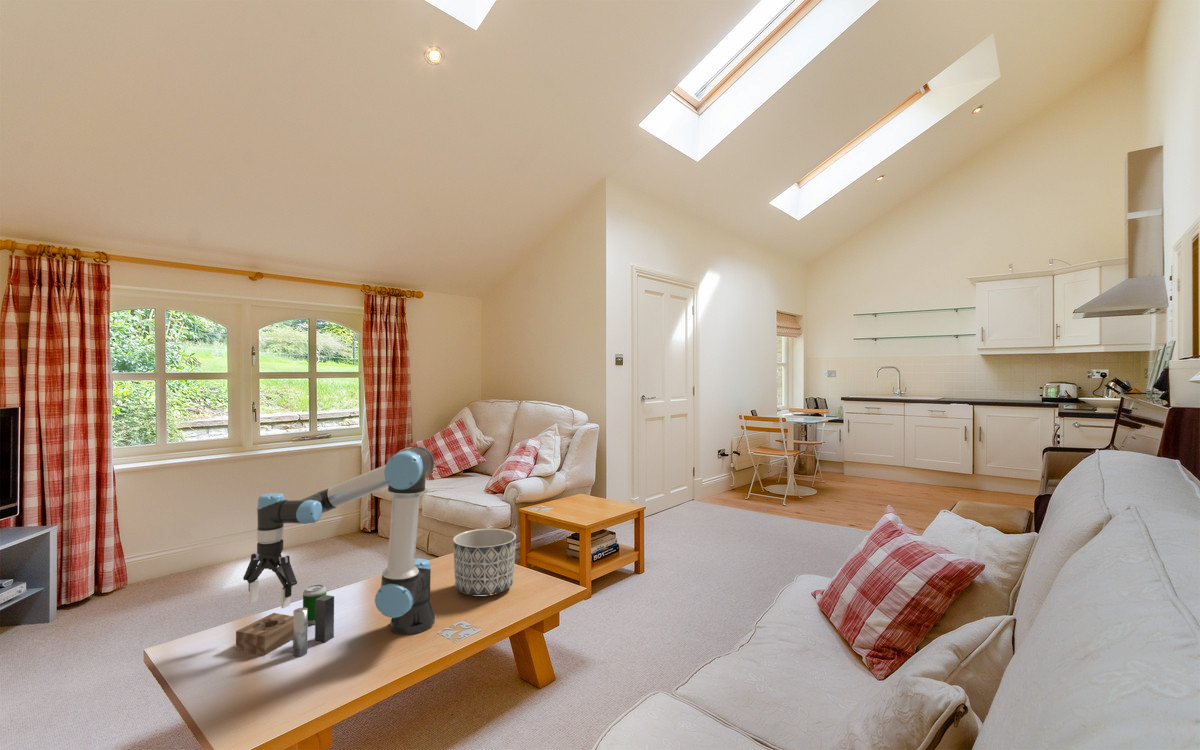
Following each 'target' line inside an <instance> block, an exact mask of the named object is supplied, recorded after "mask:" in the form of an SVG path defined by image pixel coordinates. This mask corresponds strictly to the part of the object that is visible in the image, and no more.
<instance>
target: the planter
mask: <svg viewBox="0 0 1200 750" xmlns="http://www.w3.org/2000/svg"><path fill="white" fill-rule="evenodd" d="M516 545H517V535H516V533H514V532H513V531H511V530H508V529H503V528H502V529H501V528H477V529H471V530H467V531H462V532H460V533H458V534H456V535H455V536H454V537H453V538H452V547H453V548H452V549H453V564H454V585H455V586H454V587H455V589H456V590H457V591H458V592H459V593H462V594H464V595H469V596H472V595H490V594H495V593H497V594H499V593H501V592H504V591H506V590H508V589H509V588H511V586H512V585H513V582H514V572H515V556H516ZM495 595H496V594H495Z"/></svg>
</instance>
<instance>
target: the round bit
mask: <svg viewBox="0 0 1200 750" xmlns="http://www.w3.org/2000/svg"><path fill="white" fill-rule="evenodd" d="M292 612H293V615H292V616H293V640H292V656H293V657H294V658H301V657H304V656H306V655H307V654H308V633H309V631H308V626H309V624H308V608H303V607H299V608H296V609H294V610H293V611H292Z"/></svg>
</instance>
